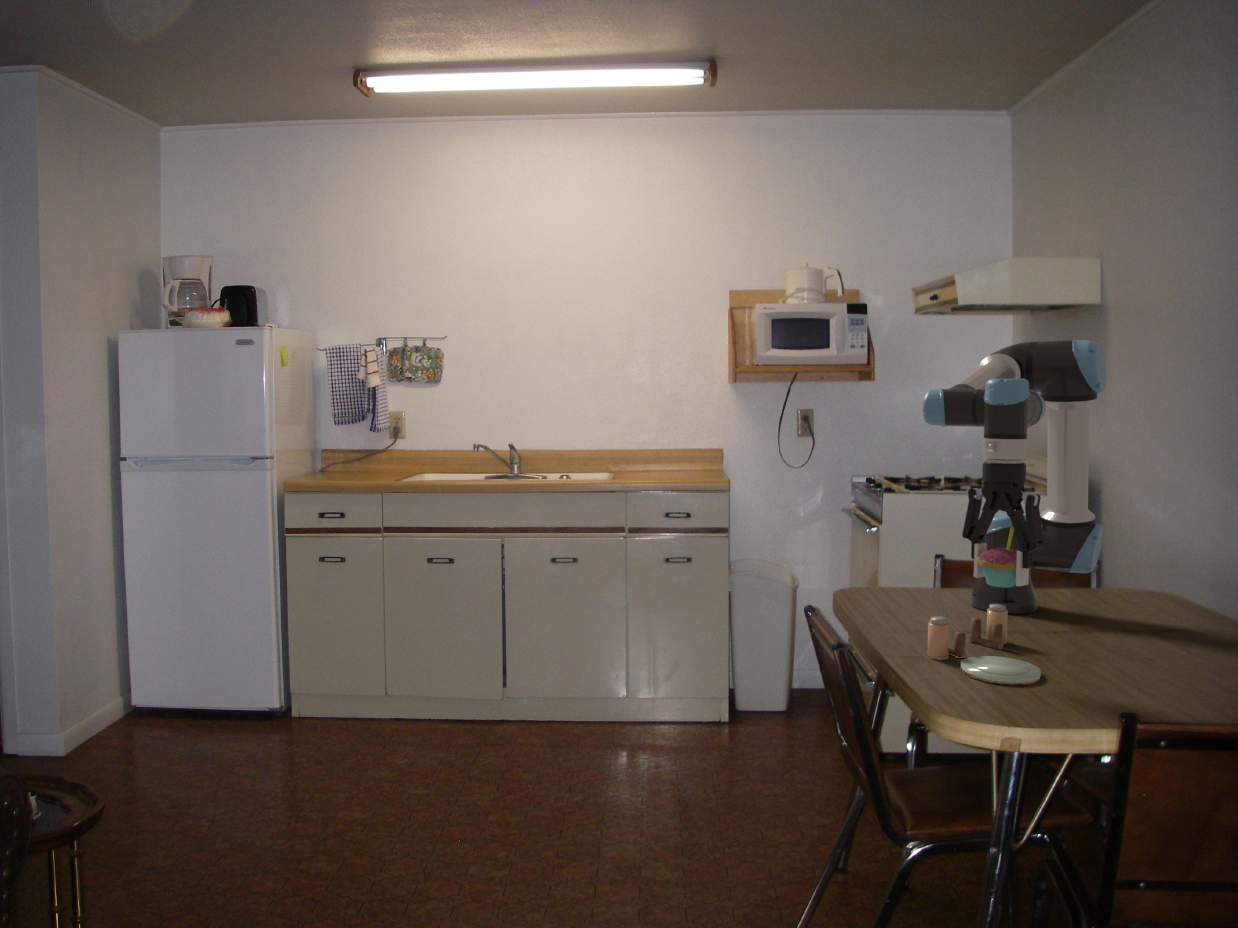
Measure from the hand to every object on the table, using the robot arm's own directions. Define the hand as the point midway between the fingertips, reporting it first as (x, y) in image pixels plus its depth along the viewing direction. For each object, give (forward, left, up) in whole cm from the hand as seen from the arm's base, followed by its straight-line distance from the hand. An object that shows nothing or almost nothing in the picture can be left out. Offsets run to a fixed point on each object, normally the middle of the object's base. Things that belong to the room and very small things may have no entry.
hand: (1000, 580), depth 170 cm
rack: (-13, +8, -18) cm, 23 cm away
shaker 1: (-13, -1, -18) cm, 22 cm away
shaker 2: (-13, +18, -18) cm, 28 cm away
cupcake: (0, 0, -1) cm, 1 cm away
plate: (0, 0, -18) cm, 18 cm away
